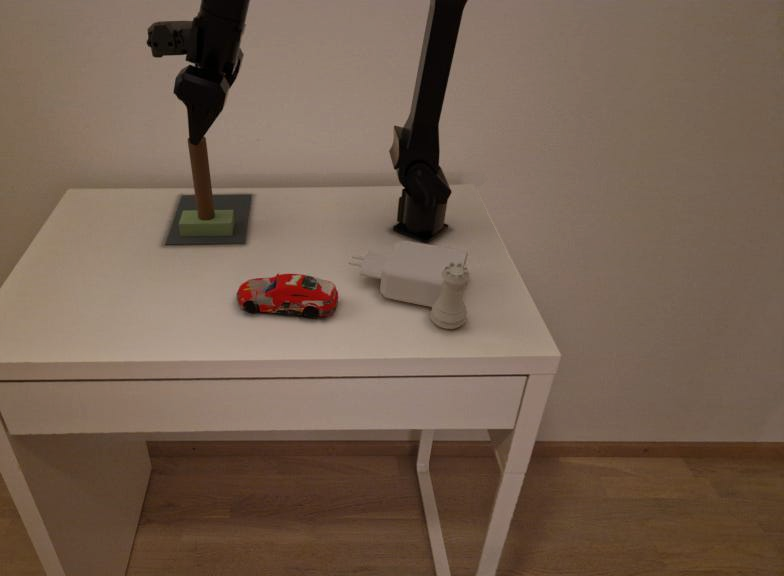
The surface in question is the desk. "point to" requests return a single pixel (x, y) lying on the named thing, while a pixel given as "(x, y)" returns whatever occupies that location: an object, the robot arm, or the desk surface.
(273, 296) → the race car
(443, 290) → the rook chess piece
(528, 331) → the desk surface
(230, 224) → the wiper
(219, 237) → the mat
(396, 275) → the charger
